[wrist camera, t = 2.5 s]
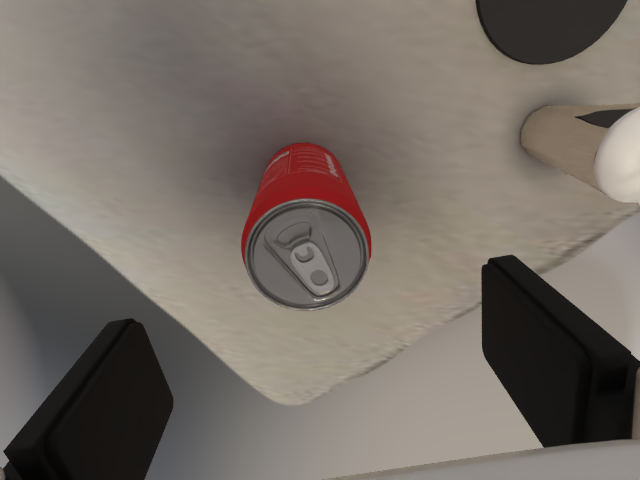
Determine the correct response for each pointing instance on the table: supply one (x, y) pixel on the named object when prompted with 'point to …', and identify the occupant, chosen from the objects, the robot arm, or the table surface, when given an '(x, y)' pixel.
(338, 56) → the table surface
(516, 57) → the coaster
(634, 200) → the milkshake
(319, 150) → the beverage can
